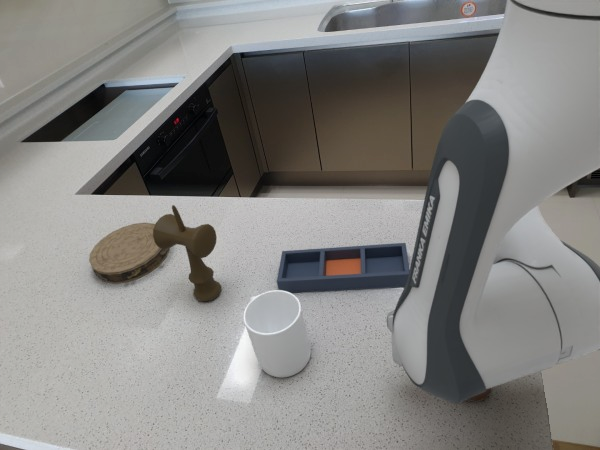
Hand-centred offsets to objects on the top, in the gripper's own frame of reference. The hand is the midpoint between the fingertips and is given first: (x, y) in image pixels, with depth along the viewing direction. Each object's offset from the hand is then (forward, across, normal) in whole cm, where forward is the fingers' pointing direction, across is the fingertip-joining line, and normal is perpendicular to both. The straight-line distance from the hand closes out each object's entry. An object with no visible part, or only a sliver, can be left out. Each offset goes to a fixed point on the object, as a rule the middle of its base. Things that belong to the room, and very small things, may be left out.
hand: (472, 376), depth 60 cm
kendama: (+2, -43, +20) cm, 47 cm away
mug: (+2, -28, +7) cm, 29 cm away
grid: (+2, -18, +23) cm, 29 cm away
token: (+2, 0, 0) cm, 2 cm away
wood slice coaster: (+2, -63, +32) cm, 70 cm away
